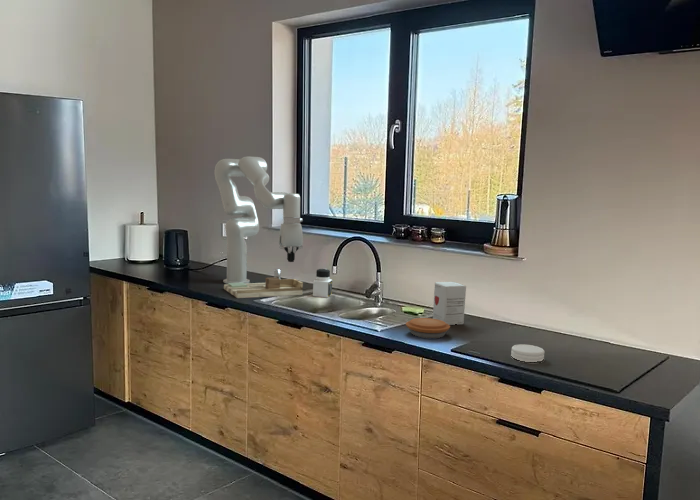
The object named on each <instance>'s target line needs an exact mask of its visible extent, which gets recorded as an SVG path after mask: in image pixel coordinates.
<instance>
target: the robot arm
mask: <svg viewBox="0 0 700 500" xmlns="http://www.w3.org/2000/svg"><path fill="white" fill-rule="evenodd" d="M267 170H268V163H267V162H266V160H265V159H264V158H263V157H260V156H249V155H248V156H243V157H242V158H239V159H238V158H237V159H236V158H223V159H220V160H218V161H217V163H216V164H215V167H214V178H215V182H216V185H217V187H218V189H219V193H220V199H221V202H222V207H223V211H224V213H225V214H226V215H227V216H230V217H231V216H234V217H233V218H229V219H228V220H227V222H225V224H224V225H225V226H224V228H225V230H224V231H225V235H226V278H225V279H223V281H222V282H223V283H224V284H228V283H244V284H247V283H251V282H250V279H248V278H247V273H248V272H247V271H248V269H247V267H248V262H247V261H248V245H247V242H246V240H245V238H248V237H255V236H256V235H258V233H259V231H260V222H259V218H258V214H257V209H256V206H255V203H254V200H253V199H252V198H251V197H249V196H247V195H240V194H239V190H238V187H237V184H236V183H235V181H234V180H233V179H232V177H234V178H236V177H238V178H246V179H247V180H248V181H249V182H250V183H251V185H253V192H254V196H255V197H254V198H256V199H257V201H258V202H259V203H260V204H261V205H262V207H264V208H266V209H268V210H282V213H283V214H282V215H283V216H282V223H281V224H280V229H279V233H278V235H279V236H278V237H279V238H278V244H279V249H281V250H284V251H285V252H286V254H287V255H286V256H287V257H286V259H287V262H289V263H294V261H295V259H296V258H295V257H296V256H295V255H296V253H297V251H298V250H301V249H303V247H304V246H303V244H304V237H303V236H304V235H303V227H302V224H301V223H302V222H303V221H304V220H303V218H301V196H300V193H294V192H293V193H292V192H291V193H287V192H284V191H283V192H273V191H270V190H269V189H268V188H267V187H266V185H267V184H268V183H269V181H270V176H269V174H268V172H267ZM235 216H240V217H235Z"/></svg>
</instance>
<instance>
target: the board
mask: <svg viewBox="0 0 700 500" xmlns="http://www.w3.org/2000/svg"><path fill="white" fill-rule="evenodd" d="M265 284H266V282H255V283H253V282H252V283H251V282H249V283H247V284H246V285H247V287H237V288H232V287H230V286H229V285H228V284H226V283H224V284H223V289H224V290H225V291H226V292H228V293H229V294H231V295H232V296H234V297H235V298H237V299H244V298H245V299H247V298H265V297H266V298H267V297H281V296H283V297H284V296H285V297H286V296H287V297H288V296H301V295H303V291H304V288H303V287H304V282H303V281H300V280H298V279H295V278H286V279H284V278H283V279H282V278H280V288H276V289H265Z"/></svg>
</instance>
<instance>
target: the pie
mask: <svg viewBox="0 0 700 500" xmlns="http://www.w3.org/2000/svg"><path fill="white" fill-rule="evenodd" d="M405 326H406V327H407V328H408V330H409V332H410V333H411V335H412V334H413V335H412V336H414V335H415V336H414V337H416V336H418V337H417V338H420V337H422V338H421V339H429V338H435V339H440V337H441V338H443V337H444V336H445V335H446V333H447V331H449V330H450V328H451V325H449V324H447V323H445V322H444V321H442V320H438V319H433V317H432V318H431V317H417V318H416V317H415V318H413V319H410V320H409V321H406V323H405Z"/></svg>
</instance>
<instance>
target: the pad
mask: <svg viewBox="0 0 700 500" xmlns="http://www.w3.org/2000/svg"><path fill="white" fill-rule="evenodd" d="M228 285H229V286H230V287H232V288H237V287H247V285H246V284H244V283H228Z"/></svg>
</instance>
